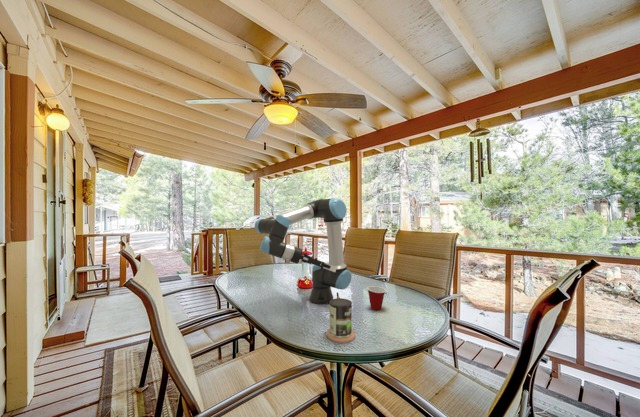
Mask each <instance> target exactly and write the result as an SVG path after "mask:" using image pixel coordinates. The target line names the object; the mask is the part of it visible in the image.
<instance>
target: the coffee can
mask: <svg viewBox="0 0 640 417" xmlns="http://www.w3.org/2000/svg"><path fill="white" fill-rule="evenodd" d="M328 304H329V329H330V334H331V335H332V336H334V337H337V338H346V337H349V336H350V335H351V334H352V330H353V329H352V328H353V327H352V326H353V325H352V322H353V320H352V312H353V310H352V306H353V302H352V301H351V300H350V299H347V298H341V297H339V298H337V297H336V298H333V299H332V300H330V302H329V303H328Z"/></svg>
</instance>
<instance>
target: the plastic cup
mask: <svg viewBox="0 0 640 417" xmlns="http://www.w3.org/2000/svg"><path fill="white" fill-rule="evenodd" d="M366 288H367V289H366V290H367V292H368V293H367V294H368V299H369V304H370V308H371V310H372V311H375V312H378V311H381V310H382V306H383V303H384V297H385V293H386V292H387V289H385V288H384V287H381V286H377V285H370V286H367V287H366Z"/></svg>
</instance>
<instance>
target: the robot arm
mask: <svg viewBox="0 0 640 417" xmlns="http://www.w3.org/2000/svg"><path fill="white" fill-rule="evenodd" d="M347 209H348V208H347V205H346V204H345V201H343V200H342V199H341V198H319V199H316V200H313V201H310V202H308V203H304V204H303V205H302V206H301V207H297V208H295V209H292V210H289V211H285V212H283V213H280V214H279V213H278V214H276V215H274V216H270V217H266V218H260V219H257V220H256V221H255V223H254V231H256V233H258V234H263V235H264V236H263V238H262V242H261V244H260V246H259V250H260V252H263V253H265V254H267V255H270V256H273V257H276V258H279V259H282V261H283V262H285V260H286V261H288V262H290V263H293V264H298V263H299V262H300V260H301V263H305V264H308V265H311V264H312V265H313V266H312V269H311V270H312V271H311V275H312V276H311V277H312V278H311V280H312V281H311V283H312V284H311V285H312V288H311V293H310V295H309V302H311V303H312V304H317V305H326V304H329V302H330V300H332V299H334V295H333V291H332V289H331V288H334V289H337V290H345V289H347V288H348V287H349V286H350V284H351V282H352V272H351V271H350V270H348V268H347V267H348V266H347V264H346V262H345V259H344V250H343V249H344V248H343V247H344V246H343V236H342V234H343V233H342V223H343V221H344V218H345V217H346V215H347V213H348V212H347ZM311 219H323V223H324V224H325V225H326V233H327V234H326V236H327V237H326V238H327V247H328V259H329V260H328V262H325V261H323V260H320V259H318V258H317V257H315V258H313V256H310V255H308V254H305V253H304V254H302V253H303V249H302V248H301V247H297V246H294V245H292V244H289V243H288V242H287V243H286V242H284V240H285V237H286V235H287V232H288V230H289V227H290V226H291V225H294V224H296V223H298V222H302V221H305V220H311ZM265 234H266V235H265ZM267 235H268V236H267ZM344 262H345V263H344Z"/></svg>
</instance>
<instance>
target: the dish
mask: <svg viewBox="0 0 640 417" xmlns="http://www.w3.org/2000/svg"><path fill="white" fill-rule="evenodd" d="M326 339H328V340H329V341H330V342H333V343H337V344H346V343H351V342H353V341H354V340H355V339H356V331H355V330H354V329H352V334H351V335H350V336H349V337H346V338H337V337H334V336H332V335H331V334H330V328H328V329H327V331H326Z"/></svg>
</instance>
